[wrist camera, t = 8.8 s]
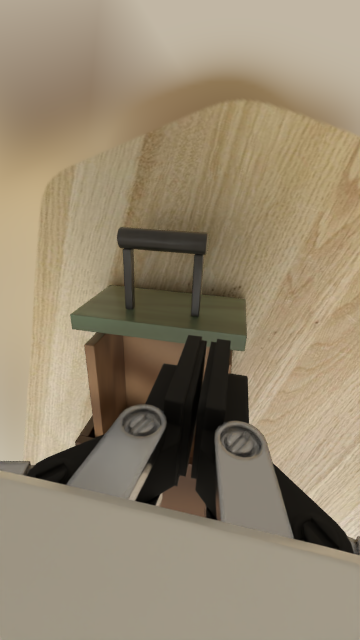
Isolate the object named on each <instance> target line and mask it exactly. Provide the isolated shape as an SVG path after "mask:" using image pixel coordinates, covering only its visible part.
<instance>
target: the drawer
mask: <svg viewBox="0 0 360 640" xmlns="http://www.w3.org/2000/svg"><path fill="white" fill-rule="evenodd" d="M117 241H118V245H119V247H120V248H124V249H123V264H124V285H125V287H124V286H114V285H110V286H108V287H107V288H106V289H104V290H103V291H102V292H100V293H99V294H97V295H96V296H95V297H93V298H92V299H91V300H89V301H88V302H87V303H85V304H84V305H82V306H81V307H80V308H78V309H77V310H76V311H74V312H73V313H72V314H70V316H71V324H72V329H76V330H83V331H91V332H97V333H96V334H95V335H94V336H93V337H92V338H91V339H90V340H89V341H88V342H87V343H86V344H85V345H84V346H85V354H86V363H87V371H88V380H89V388H90V397H91V405H92V413H93V422H94V430H95V438H96V437H98V436H100V435H103V434H105V433H106V432H107V431H108V430H109V428H110V427H111V426H112V424H113V423H114V422H115V421H116V419H117V418H118V417H119V415H120V414H121V413H122V412H123V411H124V410H126V409H127V408H129V407H131V406H135V405H139V404H145V403H146V401H147V399H148V396H149V394H150V392H151V390H152V387H153V385H154V383H155V381H156V379H157V376H158V374H159V372H160V370H161V368H162V365H163V364H164V363H166V364H172V365H177V364H178V361H179V359H180V356H181V353H182V351H183V348H184V345H185V343H186V340H187V337H188V335H194V336H202V340H204V341H207V346H206V356H205V365H204V374H205V369H206V364H207V359H208V355H209V350H210V345H211V341H212V342H217V339H223V340H230V341H231V345H230V359H229V372H228V373H231V366H232V350H237V351H245V345H246V338H247V328H246V300H245V299H241V298H232V297H222V296H212V295H202V294H201V290H202V276H203V263H204V255H206V254H207V251H208V243H209V234H208V233H203V232H188V231H173V230H158V229H143V228H129V227H120V228H119V230H118V234H117ZM133 249H138V250H151V251H163V252H176V253H188V254H195V255H194V269H193V286H192V293H183V292H173V291H163V290H153V289H143V288H135V287H134V254H133ZM204 374H203V379H204ZM195 431H196V427H195ZM194 441H195V432H194V437H193V442H192V447H191V452H190V457H193V450H194Z"/></svg>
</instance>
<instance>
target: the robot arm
mask: <svg viewBox="0 0 360 640" xmlns="http://www.w3.org/2000/svg"><path fill="white" fill-rule="evenodd" d="M230 345H231V341H230V340H223V339H217V342H212V341H211V345H210V350H209V355H208V359H207V364H206V369H205V374H204V365H205V356H206V346H207V341H204V340H202V336H194V335H188V337H187V340H186V343H185V345H184V348H183V351H182V353H181V356H180V359H179V361H178V364H177V365H172V364H166V363H164V364H163V365H162V368H161V370H160V372H159V374H158V376H157V379H156V381H155V383H154V385H153V387H152V390H151V392H150V394H149V396H148V399H147V401H146V403H145V404H139V405H135V406H131V407H129V408H127V409H126V410H124V411H123V412H122V413H121V414H120V415H119V417H118V418H117V419H116V421H115V422H114V423H113V424H112V426H111V427H110V428H109V430H108V431H107V432H106V433H105V434H103V435H100V436H98V437H96V438H93V439H91V440H88V441H86V442H84V443H81V444H79V445H76V446H74V447H72V448H69V449H67V450H64V451H62V452H60V453H57V454H55V455H52V456H50V457H48V458H46V459H44V460H42V461H40V462H38V463H37V464H36V465H31V464H30V461H0V640H360V537H359V536H358V537H357V539H356V540H355V539H352V538H350V537H348V536H347V535H346V534H345V532H344V531H343V530H342V529H341V528H340V526H339V525H338V524H337V523H336V522H335V521H334V520H333V519H332V518H331V517H330V516H329V515H328V514H326V513H325V512H324V511H323V510H322V509H321V508H320V507H319V506H318V505H317V504H316V503H315V502H314V501H313V500H312V499H311V498H309V497H308V496H307V495H306V494H305V493H304V492H303V491H302V490H301V489H300V488H299V487H298V486H297V485H296V484H295V483H293V482H292V481H291V480H290V479H289V478H288V477H287V476H286V475H285V474H284V473H283V472H282V471H281V470H280V469H279V468H278V467H276V466H275V465H274V464H273V463H272V459H271V456H270V452H269V449H268V445H267V442H266V440H265V437H264V435H263V434H262V433H261V432H260V431H259V430H258V429H257V428H255V427H254V426H252V425H250V424H249V409H248V378H247V376H243V375H236V374H230V373H228V372H229V359H230ZM203 374H204V379H203ZM195 427H196V431H195ZM194 432H195V441H194V450H193V460H192V470H191V478H193V479H196V488H195V491H196V492H197V493H198V495H199V496H200V497H201V499H202V500H203V502H204V503H205V508H204V517H201V516H196V515H192V514H188V513H184V512H180V511H175V510H171V509H167V508H163V507H160V504H161V502H162V499H163V495H164V492H165V491H167V490H168V489H170V488H172V487H173V486H178V481H179V476H184V477H186V473H187V468H188V463H189V458H190V452H191V447H192V442H193V437H194Z"/></svg>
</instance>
